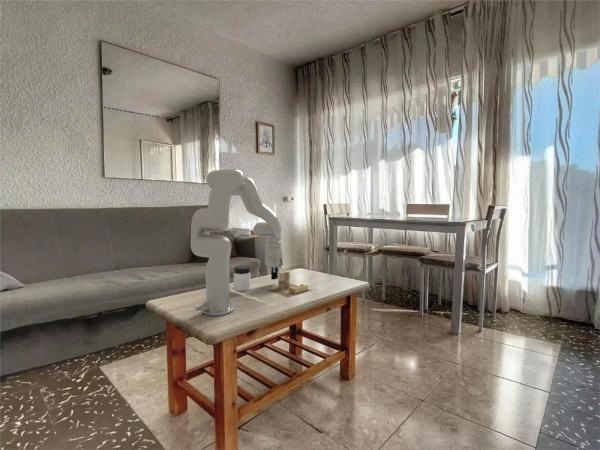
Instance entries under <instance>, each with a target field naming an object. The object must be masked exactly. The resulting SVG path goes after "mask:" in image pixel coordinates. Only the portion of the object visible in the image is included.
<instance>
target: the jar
mask: <svg viewBox="0 0 600 450" xmlns="http://www.w3.org/2000/svg"><path fill="white" fill-rule="evenodd" d="M251 282H252V281H251V267H250V266H249V265H237V266H234V268H233V292H235V293H241V294H242V293H244V292H243V291H246V290H250V289H251V287H252V286H251V284H252V283H251Z"/></svg>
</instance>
